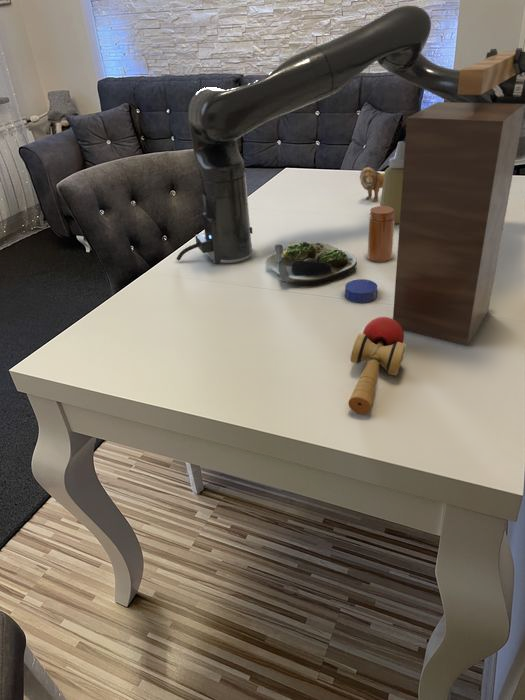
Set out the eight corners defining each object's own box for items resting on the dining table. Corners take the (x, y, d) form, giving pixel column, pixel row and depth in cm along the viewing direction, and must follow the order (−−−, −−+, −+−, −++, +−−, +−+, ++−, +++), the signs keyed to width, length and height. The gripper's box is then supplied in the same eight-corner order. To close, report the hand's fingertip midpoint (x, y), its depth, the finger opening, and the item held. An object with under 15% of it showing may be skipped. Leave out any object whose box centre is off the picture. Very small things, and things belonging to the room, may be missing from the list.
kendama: (395, 427, 69) (416, 340, 81) (387, 391, 65) (410, 306, 78) (337, 423, 72) (366, 340, 85) (327, 389, 69) (359, 308, 81)
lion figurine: (366, 206, 139) (367, 170, 134) (354, 201, 143) (355, 166, 138) (410, 194, 144) (413, 160, 139) (397, 190, 148) (399, 156, 143)
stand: (467, 345, 81) (503, 120, 64) (392, 327, 87) (406, 117, 70) (488, 311, 89) (525, 103, 72) (418, 297, 95) (437, 102, 78)
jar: (375, 263, 109) (377, 215, 103) (362, 255, 113) (364, 208, 107) (396, 258, 110) (400, 210, 104) (383, 250, 114) (386, 204, 108)
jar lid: (355, 285, 101) (355, 276, 100) (382, 293, 98) (383, 283, 97) (339, 297, 97) (339, 288, 96) (366, 305, 94) (367, 296, 93)
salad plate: (244, 262, 114) (242, 241, 111) (313, 241, 121) (313, 222, 118) (292, 295, 99) (291, 272, 97) (368, 270, 106) (369, 248, 104)
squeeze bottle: (416, 224, 125) (423, 144, 115) (381, 227, 126) (386, 147, 116) (409, 213, 132) (415, 136, 122) (376, 215, 132) (379, 139, 123)
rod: (480, 95, 69) (484, 69, 67) (457, 94, 70) (460, 69, 69) (519, 72, 84) (523, 50, 82) (499, 72, 85) (503, 51, 84)
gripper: (554, 124, 91) (548, 81, 76) (470, 121, 98) (449, 81, 83) (567, 78, 90) (563, 26, 75) (481, 78, 97) (462, 30, 82)
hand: (504, 55), depth 79 cm, fingers closed on rod, 3 cm apart
